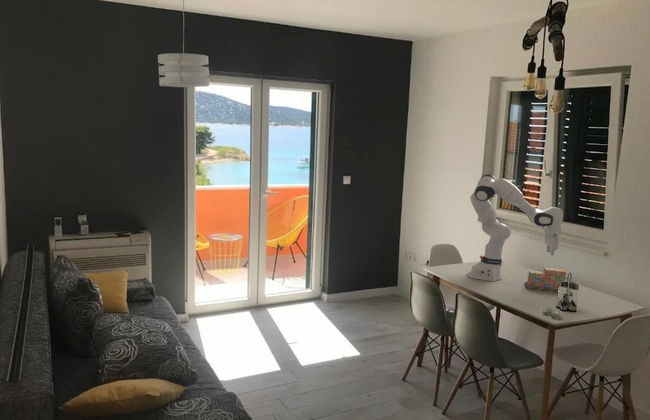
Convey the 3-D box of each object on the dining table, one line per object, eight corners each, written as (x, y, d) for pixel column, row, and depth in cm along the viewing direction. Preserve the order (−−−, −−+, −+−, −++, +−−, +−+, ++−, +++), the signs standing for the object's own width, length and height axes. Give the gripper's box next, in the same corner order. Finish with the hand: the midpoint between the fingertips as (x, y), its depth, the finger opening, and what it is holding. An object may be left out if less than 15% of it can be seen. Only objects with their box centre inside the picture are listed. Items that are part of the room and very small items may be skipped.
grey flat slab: (527, 288, 349) (527, 285, 349) (524, 284, 359) (524, 281, 358) (567, 293, 345) (568, 290, 345) (563, 288, 355) (564, 285, 354)
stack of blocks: (528, 286, 350) (531, 268, 348) (527, 283, 357) (529, 265, 354) (563, 290, 347) (566, 271, 345) (561, 287, 353) (563, 269, 351)
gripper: (562, 236, 335) (559, 257, 337) (554, 230, 355) (551, 250, 357) (551, 235, 336) (548, 256, 338) (544, 229, 356) (541, 249, 358)
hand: (550, 253), depth 348 cm, fingers open, 8 cm apart
